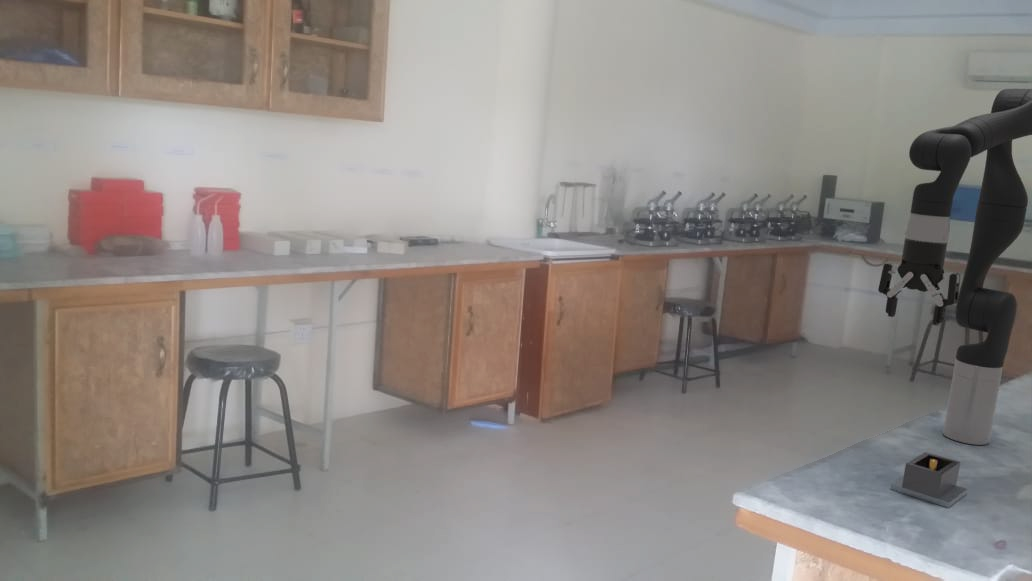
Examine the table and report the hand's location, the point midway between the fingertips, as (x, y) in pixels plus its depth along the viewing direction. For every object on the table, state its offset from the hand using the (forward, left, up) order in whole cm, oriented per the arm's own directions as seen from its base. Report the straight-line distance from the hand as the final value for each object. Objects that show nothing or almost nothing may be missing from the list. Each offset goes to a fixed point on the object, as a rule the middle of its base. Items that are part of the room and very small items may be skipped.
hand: (913, 320), depth 175 cm
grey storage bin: (+14, +12, -27) cm, 33 cm away
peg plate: (+14, +12, -28) cm, 33 cm away
